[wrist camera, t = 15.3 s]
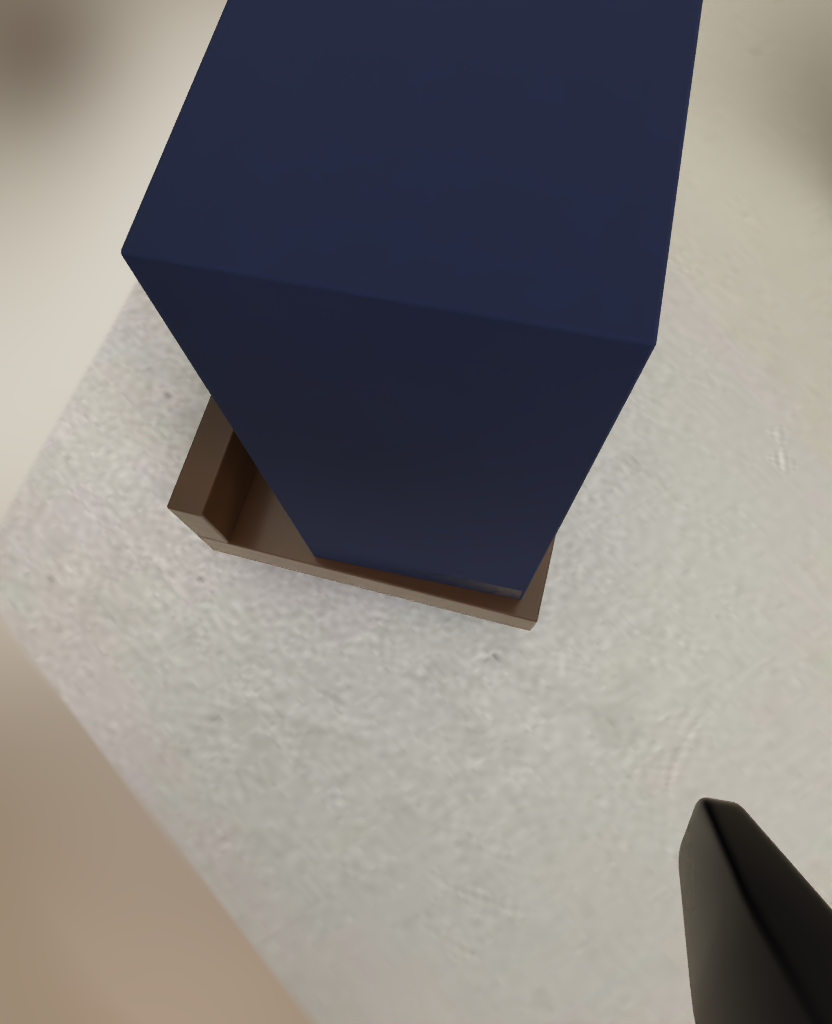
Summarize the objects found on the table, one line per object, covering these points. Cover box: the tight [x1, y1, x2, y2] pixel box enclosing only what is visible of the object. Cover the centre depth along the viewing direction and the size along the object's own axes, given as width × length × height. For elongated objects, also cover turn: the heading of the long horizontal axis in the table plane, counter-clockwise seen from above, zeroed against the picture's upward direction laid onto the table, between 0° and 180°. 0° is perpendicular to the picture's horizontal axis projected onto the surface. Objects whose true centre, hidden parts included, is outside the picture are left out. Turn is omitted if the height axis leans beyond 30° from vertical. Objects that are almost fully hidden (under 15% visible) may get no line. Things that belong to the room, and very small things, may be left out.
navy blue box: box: [121, 0, 703, 600], centre depth 16 cm, size 13×6×13 cm, turn 167°
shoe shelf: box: [167, 396, 555, 631], centre depth 23 cm, size 16×10×6 cm, turn 165°
